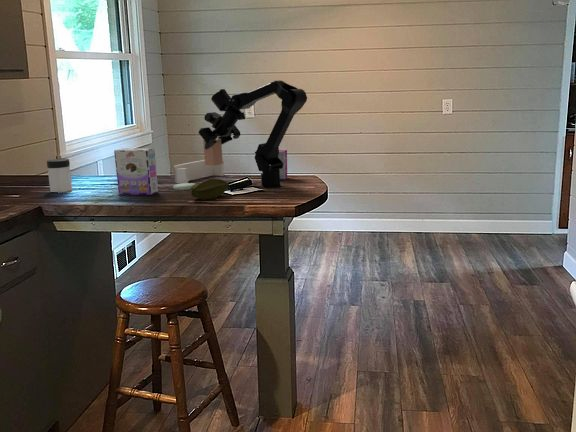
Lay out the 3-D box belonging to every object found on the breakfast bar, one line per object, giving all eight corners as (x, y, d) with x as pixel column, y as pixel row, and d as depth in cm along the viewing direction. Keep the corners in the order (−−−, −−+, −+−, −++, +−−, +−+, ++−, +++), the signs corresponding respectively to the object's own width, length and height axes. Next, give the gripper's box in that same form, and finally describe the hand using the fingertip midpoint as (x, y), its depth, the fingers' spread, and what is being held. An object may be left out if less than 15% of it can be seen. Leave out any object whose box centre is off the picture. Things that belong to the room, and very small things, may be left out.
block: (222, 163, 251) (221, 138, 249) (214, 165, 247) (212, 140, 245) (213, 163, 254) (211, 138, 252) (205, 165, 250) (203, 139, 248)
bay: (224, 175, 264) (223, 159, 262) (186, 184, 246) (184, 166, 245) (213, 174, 267) (212, 158, 266) (175, 182, 250) (173, 165, 248)
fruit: (196, 195, 223) (195, 177, 222) (229, 194, 222) (228, 176, 220) (188, 202, 212) (187, 182, 210) (223, 201, 211) (222, 182, 209)
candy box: (159, 192, 231) (155, 147, 228) (150, 195, 226) (146, 149, 222) (126, 191, 236) (122, 147, 232) (117, 194, 230) (113, 149, 227)
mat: (197, 185, 243) (197, 182, 243) (197, 189, 235) (197, 186, 234) (173, 186, 242) (173, 183, 242) (173, 190, 234) (172, 187, 233)
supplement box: (285, 180, 247) (284, 151, 244) (270, 180, 248) (269, 151, 245) (288, 177, 252) (287, 149, 250) (273, 177, 253) (272, 149, 251)
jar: (73, 191, 239) (69, 160, 236) (50, 193, 236) (46, 162, 234) (72, 188, 247) (68, 157, 245) (50, 190, 245) (46, 159, 242)
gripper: (233, 103, 250) (214, 131, 259) (199, 106, 236) (181, 135, 245) (249, 123, 247) (230, 150, 256) (216, 127, 233) (197, 156, 242)
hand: (210, 147), depth 250 cm, fingers closed on block, 5 cm apart
